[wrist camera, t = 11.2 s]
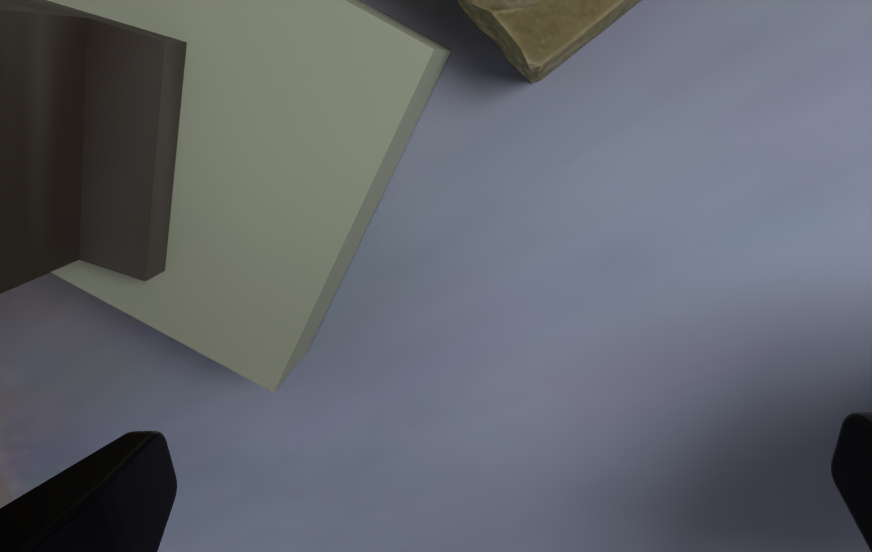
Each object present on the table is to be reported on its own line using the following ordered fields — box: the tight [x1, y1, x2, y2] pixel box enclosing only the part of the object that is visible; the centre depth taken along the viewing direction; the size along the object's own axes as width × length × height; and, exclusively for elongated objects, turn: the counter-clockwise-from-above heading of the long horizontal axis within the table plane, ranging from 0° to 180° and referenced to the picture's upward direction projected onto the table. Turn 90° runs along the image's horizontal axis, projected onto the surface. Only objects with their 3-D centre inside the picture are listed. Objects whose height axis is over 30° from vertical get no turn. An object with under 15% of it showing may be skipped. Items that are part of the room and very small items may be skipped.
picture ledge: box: [48, 0, 451, 393], centre depth 18 cm, size 14×12×4 cm
